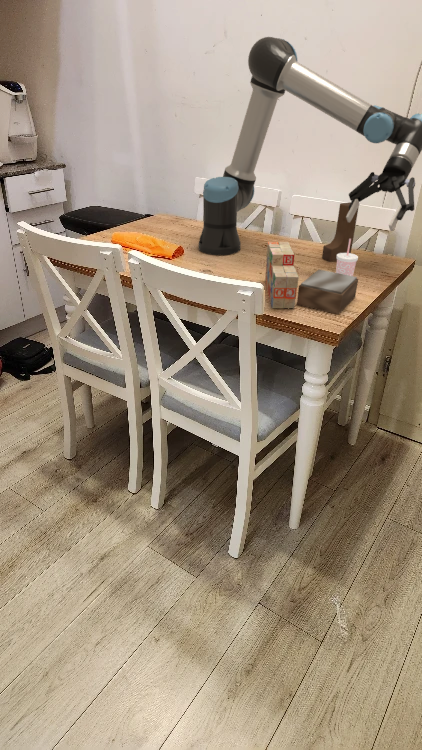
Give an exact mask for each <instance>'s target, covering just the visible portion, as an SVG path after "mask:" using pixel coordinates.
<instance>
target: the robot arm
mask: <svg viewBox="0 0 422 750" xmlns="http://www.w3.org/2000/svg"><path fill="white" fill-rule="evenodd" d="M247 64H248V69H249V73H250V74H251V78H250V81H249V83H250V86H251V88H252V92H251V95H250V99H249V102H248V105H247V109H246V112H245V115H244V119H243V121H242V122H243V123H242V126H241V129H240V131H239V132H240V133H239V136H238V139H237V143H236V145H235V149H234V152H233V155H232V159H231V163H230V164H229V165H227V166H226V167H225V168H224V171H223V175H222V176H217V177H213V178H209V179H208V180H206V181H205V182H204V184H203V191H202V196H203V203H202V205H203V210H202V211H203V228H202V229H201V234H200V236H199V240H198V251H200V252H202V254H207V255H212V256H213V255H214V256H227V255H234V254H238V253H239V252H240V251H241V248H242V247H241V244H242V243H241V240H240V236H239V232H238V228H237V223H238V219H237V218H238V212H239V211H241V210H244V209H245V208H246V207H248V206H249V205H250V203H251V201H252V200H253V199H254V195H255V183H256V180H257V177H256V174H255V169H256V167H257V163H258V161H259V157H260V154H261V150H262V149H263V145H264V142H265V139H266V137H267V136H266V135H267V133H268V131H269V130H268V129H269V127H270V123H271V120H272V117H273V114H274V111H275V108H276V106H277V103H278V100H279V98H281V97H283V96H285V93H286V92H287V93H289V94H291V95H292V96H295V97H296V98H298V99H299V100H301V101H303V102H304V103H307V104H309V105H310V106H311V107H313V108H315V109H317V110H319V111H320V112H321V113H323V114H325V115H328V116H329V117H330V118H332V119H334V120H336V121H338V122H339V123H341V124H343V125H345V126H346V127H348V128H349V129H352V130H353V131H355V132H357V133H358V134H359V135H361V136H363V137H364V138H365V139H366V140H367V141H368V142H370V143H373V144H381V143H383V142H385V141H386V142H389V143H391V144H394V145H395V146H394V149H393V150H392V152H391V154H390V156H389V158H388V160H387V161H386V163H385V166H384V167H383V168H382V169H383V170H382V172H380V174H379V175H378V174H375V172H374V171H372V172H370V173H369V175H368V176H367V178H365V179H364V180H363V181H362V182H361V183H359V185H357V186H356V187H355V188H353V189H352V190H351V191H350V192H349V193H348V197H349V200H350V201H351V203H350V205H349V212H348V214H347V216H346V218H347V221H348V222H351V220H352V218H353V216H354V214H355V212H356V211H357V209H358V210H359V208H358V207H359V206H360V205H361V204H360V202H362V201H363V200H365V199H367V198H368V197H371V196H372V195H374V194H375V193H379V192H387V193H395V195H396V196H397V199H398V201H399V204H400V205H398V206H397V209H396V210H395V212H394V213H393V216H392V217H391V220H390V221H389V224H388V228H389V231H390V232H393V231H394V229H395V227H396V225H397V223H398V221H402V220H403V218H404V216H405V214H406V212H408V211H411V212H413V211H415V194H414V193H415V192H414V191H415V187H416V180H415V177H413V176H412V177H411V178H409V179H408V177H409V176H410V173H411V171H412V169H413V168H414V166H415V164H416V162H417V161H418V158H419V156H420V155H421V152H422V113H421V114H420V113H415V114H412V116H411V117H410V118H408V117H406V116H402V115H400V114H399V113H396V112H393V111H391V110H389V109H386V108H385V107H382V106H379V105H377V104H376V105H375V104H374V105H372V104H370V103H369V102H367V101H365V100H363V99H362V98H360V97H359V96H357V95H355V94H353V93H352V92H350V91H349V90H347V89H344V87H341V86H340V85H338V84H336V83H334V82H332V81H331V80H329V79H328V78H326V77H324V76H322V75H320V74H319V73H318V72H315V71H314V70H312V69H310V68H309V67H307V66H305V65H304V64H301V63H300V62H298V55H297V52H296V49H295V48H294V46H293V45H292V44H291V43H290V42H289V41H287V40H285V39H283V38H277V37H273V36H264V37H262V38H260V39H258V40H257V41H256V42H255V43H253V45H252V47H251V48H250V51H249V54H248V59H247ZM405 185H406V187H407V191H408V193H407V194H408V203H407V202H406V200H405V197H404V194H403V192H402V190H401V188H402V187H404V186H405Z"/></svg>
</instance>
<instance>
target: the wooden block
mask: <svg viewBox="0 0 422 750" xmlns="http://www.w3.org/2000/svg"><path fill="white" fill-rule="evenodd" d="M350 203H351V202H350V201H349V202H341V203H339V208H338V216H337V223H336V231H335V234H334V237H333V239H332V240H331V242H329V243H328V244H325V245H323V249H322V254H321V258H322V259H323V260H324V261H327V262H328V263H329V262H330V263H332V262H337V258H336V257H337V254H339V253H347V250H348V244H349V239H351V242H350V248H349V253H351V254H352V249H353V248H352V247H353V243H354V237H355V232H356V231H355V230H356V224H357V219H358V214H359V212H358V211H359V207H358V209H357V211H356V212H355V214H354V216H353V218H352V220H351V222H348V221H347V218H346V216H347V214H348V212H349V205H350Z"/></svg>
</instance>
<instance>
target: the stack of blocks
mask: <svg viewBox="0 0 422 750" xmlns="http://www.w3.org/2000/svg"><path fill="white" fill-rule="evenodd" d="M266 244H267V247H266V261H265V263H266V265H265V266H266V268H265V274H264V275H265V277H264V278H265V279H264V280H265V281H264V282H265V286H266V291H268V292H267V294H268V293H269V294H268V297H269V296H270V297H269V303H270V305H271V308H288V309H287V310H290V309H289V308H294V309H295V307H296V300H297V299H296V298H297V293H298V292H297V290H298V288H299V275H298V272H297V270H296V268H295V265H294V264H295V263H294V262H295V253H294V251H293V249H292V247H291V245H290V242H289V241H267V243H266Z"/></svg>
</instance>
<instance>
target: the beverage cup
mask: <svg viewBox="0 0 422 750" xmlns="http://www.w3.org/2000/svg"><path fill="white" fill-rule="evenodd" d="M350 242H351V239H349V244H348V250H347V253H339V254H337V257H336V258H337V261H336V267H335V273H339V274H344V275H349V276H354V272H355V268H356V265H357V262H358V259H359V256H358V255H356V254H355V253H352V252H351V253H349V248H350Z"/></svg>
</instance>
